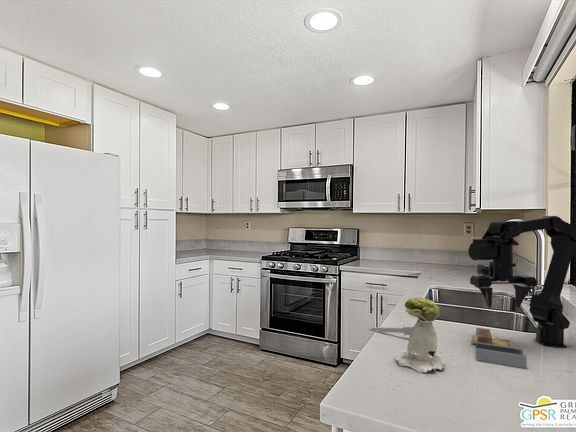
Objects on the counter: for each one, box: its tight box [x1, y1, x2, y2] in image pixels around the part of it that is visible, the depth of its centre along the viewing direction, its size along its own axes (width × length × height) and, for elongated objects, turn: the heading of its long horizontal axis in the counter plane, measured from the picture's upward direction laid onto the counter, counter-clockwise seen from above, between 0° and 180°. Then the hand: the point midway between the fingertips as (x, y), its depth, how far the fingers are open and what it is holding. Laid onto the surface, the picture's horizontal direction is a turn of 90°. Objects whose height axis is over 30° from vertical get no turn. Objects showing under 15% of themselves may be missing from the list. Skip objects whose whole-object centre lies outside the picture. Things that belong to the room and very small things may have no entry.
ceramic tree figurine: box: [395, 297, 446, 374], centre depth 97 cm, size 12×13×18 cm
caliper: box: [367, 326, 414, 336], centre depth 120 cm, size 20×1×6 cm, turn 50°
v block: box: [475, 342, 528, 369], centre depth 100 cm, size 12×7×3 cm, turn 64°
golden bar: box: [471, 334, 511, 347], centre depth 111 cm, size 10×3×3 cm, turn 64°
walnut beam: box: [475, 327, 494, 344], centre depth 112 cm, size 4×10×4 cm, turn 154°
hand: (503, 307), depth 112 cm, fingers open, 9 cm apart
